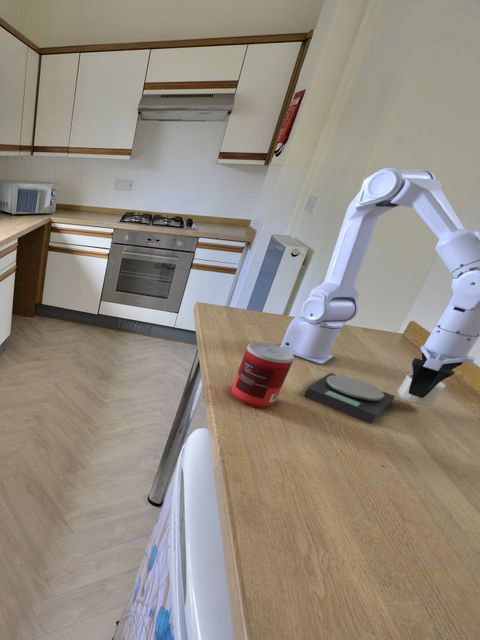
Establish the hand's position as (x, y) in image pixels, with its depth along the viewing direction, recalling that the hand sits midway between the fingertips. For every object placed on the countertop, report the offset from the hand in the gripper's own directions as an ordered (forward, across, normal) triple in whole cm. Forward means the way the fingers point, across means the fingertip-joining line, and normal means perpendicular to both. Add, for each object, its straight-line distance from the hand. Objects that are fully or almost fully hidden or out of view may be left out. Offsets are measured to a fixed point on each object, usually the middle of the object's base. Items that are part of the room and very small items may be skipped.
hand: (419, 391), depth 83 cm
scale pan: (+1, -9, +8) cm, 12 cm away
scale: (+3, -10, +8) cm, 13 cm away
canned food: (+4, -27, +19) cm, 33 cm away
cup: (+2, 0, 0) cm, 2 cm away
